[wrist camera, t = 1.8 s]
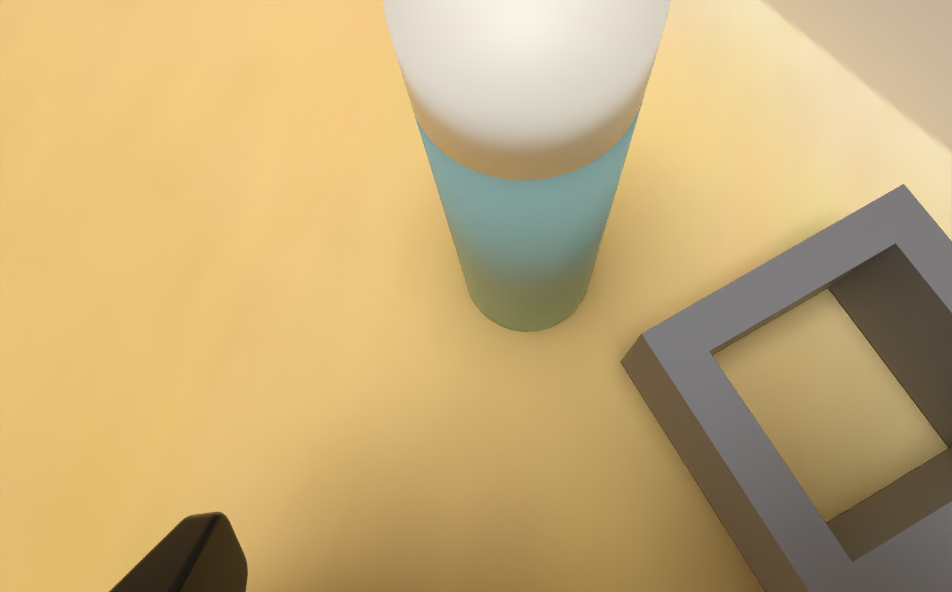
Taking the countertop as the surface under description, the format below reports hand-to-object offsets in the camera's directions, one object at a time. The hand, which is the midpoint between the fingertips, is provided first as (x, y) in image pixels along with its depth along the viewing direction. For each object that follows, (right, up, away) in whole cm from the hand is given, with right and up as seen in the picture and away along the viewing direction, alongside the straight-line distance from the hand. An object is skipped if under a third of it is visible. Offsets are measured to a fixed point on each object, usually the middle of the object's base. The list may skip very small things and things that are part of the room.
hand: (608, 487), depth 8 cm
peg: (0, +3, +14) cm, 14 cm away
